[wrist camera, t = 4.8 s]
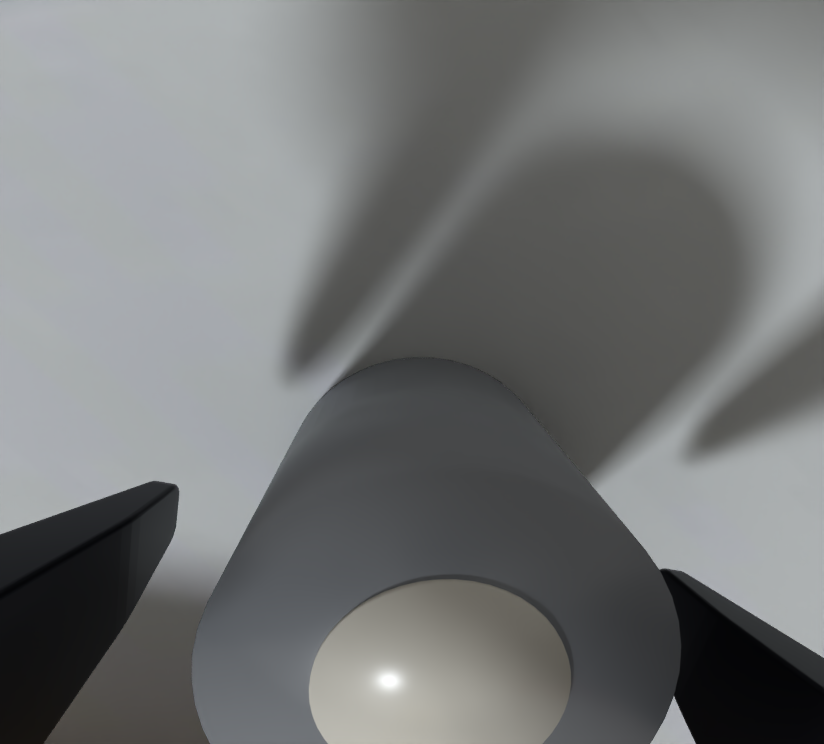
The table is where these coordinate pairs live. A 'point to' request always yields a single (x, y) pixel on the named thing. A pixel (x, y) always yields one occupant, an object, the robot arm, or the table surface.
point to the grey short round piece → (434, 583)
